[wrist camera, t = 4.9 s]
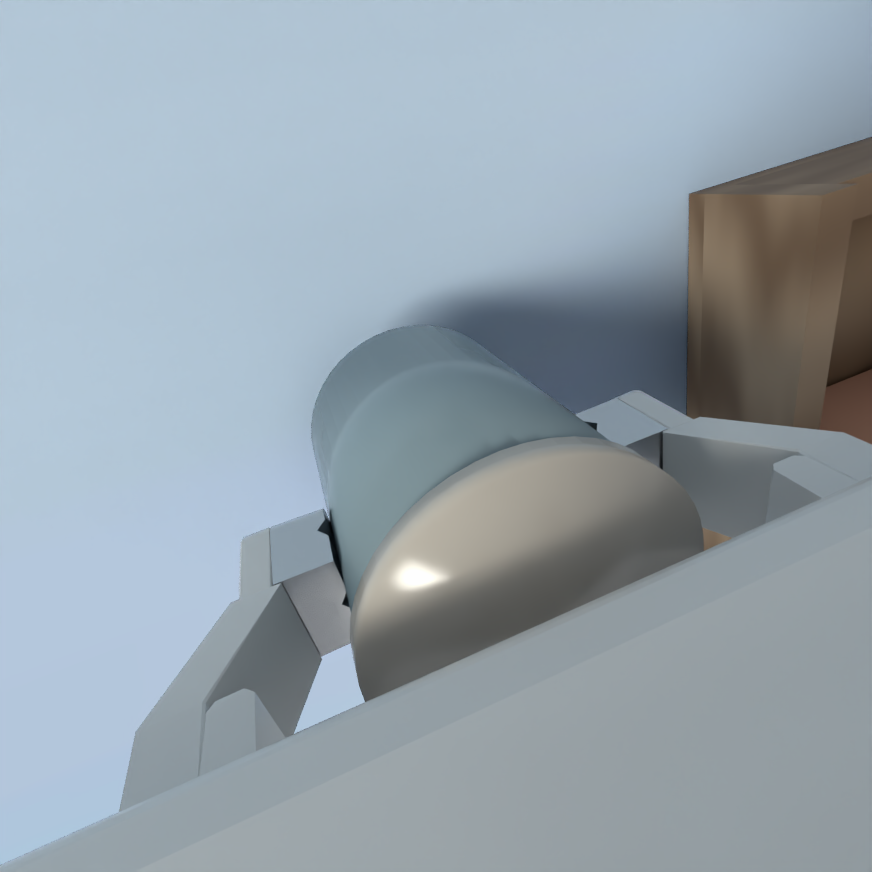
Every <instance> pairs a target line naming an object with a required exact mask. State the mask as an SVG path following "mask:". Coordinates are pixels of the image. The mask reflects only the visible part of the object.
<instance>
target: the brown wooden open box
mask: <svg viewBox="0 0 872 872" xmlns="http://www.w3.org/2000/svg"><path fill="white" fill-rule="evenodd" d="M870 369H872V137H870V138H867V139H864V140H861V141H857V142H854V143H851V144H848V145H844V146H841V147H838V148H835V149H832V150H828V151H825V152H822V153H819V154H816V155H812V156H809V157H806V158H803V159H800V160H796V161H793V162H790V163H787V164H784V165H780V166H777V167H774V168H771V169H768V170H764V171H761V172H758V173H755V174H751V175H748V176H745V177H742V178H739V179H735V180H732V181H729V182H726V183H723V184H719V185H716V186H713V187H710V188H707V189H703V190H700V191H697V192H694V193H691V194H689V263H688V349H687V416H688V417H690V418H692V419H696V418H699V417H707V418H716V419H725V420H734V421H743V422H752V423H762V424H771V425H780V426H789V427H798V428H807V429H817V430H819V428H820V422H821V416H822V409H823V403H824V397H825V390H826V387H828V386H831V385H833V384H836V383H838V382H841V381H843V380H846V379H848V378H851V377H853V376H856V375H858V374H861V373H863V372H866V371H868V370H870ZM702 530H703V540H704V551H705V550H707V549H709V548H712V547H714V546H716V545H718V544H721V543H723V542H725V541H727V540H730V539H732V538H731V537H728V536H725V535H722V534H719V533H717V532H714V531H711V530H708V529H705V528H702Z"/></svg>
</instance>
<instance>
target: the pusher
mask: <svg viewBox="0 0 872 872" xmlns="http://www.w3.org/2000/svg"><path fill="white" fill-rule="evenodd" d="M819 430H826V431H835V432H844V433H846V434H849V435H851V436H853V437H855V438H858V439H860V440H862V441H865V442H867V443H869V444H871V445H872V369H870V370H868V371H866V372H863V373H861V374H858V375H856V376H853V377H851V378H848V379H846V380H843V381H841V382H838V383H836V384H833V385H831V386H828V387H826V390H825V397H824V403H823V409H822V416H821V422H820V428H819Z"/></svg>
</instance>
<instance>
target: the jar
mask: <svg viewBox="0 0 872 872" xmlns="http://www.w3.org/2000/svg"><path fill="white" fill-rule="evenodd" d="M311 438H312V444H313V450H314V455H315V459H316V463H317V468H318V472H319V476H320V481H321V485H322V489H323V494H324V498H325V503H326V507H327V511H328V516H329V520H330V524H331V528H332V532H333V536H334V541H335V546H336V550H337V555H338V558H339V563H340V567H341V571H342V576H343V580H344V585H345V590H346V594H347V598H348V603H349V607H350V611H351V617H350V641H351V648H352V654H353V659H354V664H355V668H356V673H357V678H358V682H359V687H360V689H361V692H362V695H363V697H364V700H365V702H367V701H369V700H371V699H374V698H376V697H378V696H380V695H383V694H385V693H387V692H389V691H391V690H394V689H396V688H398V687H400V686H403V685H405V684H407V683H409V682H412V681H414V680H416V679H418V678H421V677H423V676H425V675H427V674H430V673H432V672H434V671H436V670H439V669H441V668H443V667H445V666H447V665H450V664H452V663H454V662H456V661H459V660H461V659H463V658H465V657H468V656H470V655H472V654H474V653H477V652H479V651H481V650H483V649H485V648H488V647H490V646H492V645H494V644H497V643H499V642H501V641H503V640H506V639H508V638H510V637H512V636H515V635H517V634H519V633H521V632H523V631H526V630H528V629H530V628H532V627H535V626H537V625H539V624H541V623H544V622H546V621H548V620H550V619H553V618H555V617H557V616H559V615H561V614H564V613H566V612H568V611H570V610H573V609H575V608H577V607H579V606H582V605H584V604H586V603H588V602H590V601H593V600H595V599H597V598H599V597H602V596H604V595H606V594H608V593H611V592H613V591H615V590H617V589H620V588H622V587H624V586H626V585H628V584H631V583H633V582H635V581H637V580H640V579H642V578H644V577H646V576H649V575H651V574H653V573H655V572H658V571H660V570H662V569H664V568H667V567H669V566H671V565H673V564H676V563H678V562H680V561H682V560H685V559H687V558H689V557H691V556H694V555H696V554H698V553H700V552H703V551H704V540H703V530H702V525H701V519H700V516H699V514H698V511H697V509H696V506H695V504H694V502H693V501H692V499H691V497H690V496H689V494H688V493H687V491H686V490H685V489H684V488H683V487H682V486H681V485H680V484H679V483H678V482H677V481H676V480H675V479H674V478H673V477H672V476H670V475H669V474H667V473H666V472H665V471H663V470H662V469H660V468H659V467H658V466H656V465H655V464H653V463H652V462H651V461H649V460H648V459H646V458H645V457H643V456H642V455H640V454H639V453H637V452H636V451H634V450H632V449H630V448H628V447H625V446H623V445H621V444H618V443H615V442H611V441H610V440H608V439H607V438H606V437H604V436H603V435H602V434H600V433H599V432H598V431H596V430H595V429H594V428H592V427H591V426H589V425H588V424H587V423H585V422H584V421H583V420H581V419H580V418H579V417H577V416H576V415H575V414H573V413H572V412H571V411H569V410H568V409H566V408H565V407H564V406H562V405H561V404H560V403H558V402H557V401H556V400H554V399H553V398H552V397H550V396H549V395H548V394H546V393H545V392H544V391H542V390H541V389H539V388H538V387H537V386H535V385H534V384H533V383H531V382H530V381H529V380H527V379H526V378H525V377H523V376H522V375H521V374H519V373H518V372H516V371H515V370H514V369H512V368H511V367H510V366H508V365H507V364H506V363H504V362H503V361H502V360H500V359H499V358H498V357H496V356H495V355H494V354H492V353H491V352H489V351H488V350H487V349H485V348H484V347H483V346H481V345H480V344H479V343H477V342H476V341H474V340H473V339H471V338H470V337H468V336H466V335H464V334H462V333H460V332H457V331H454V330H451V329H448V328H445V327H439V326H432V325H414V326H405V327H400V328H396V329H392V330H388V331H386V332H383V333H381V334H378V335H376V336H374V337H372V338H370V339H368V340H367V341H365V342H363V343H361V344H360V345H359V346H357V347H356V348H355V349H353V350H352V351H350V352H349V353H348V354H347V355H346V356H345V357H344V358H343V359H342V360H341V361H340V362H339V363H338V364H337V365H336V367H335V368H334V369H333V370H332V372H331V373H330V374H329V376H328V378H327V379H326V381H325V382H324V384H323V386H322V388H321V390H320V392H319V395H318V397H317V400H316V403H315V407H314V410H313V416H312V423H311Z"/></svg>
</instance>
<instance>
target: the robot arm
mask: <svg viewBox="0 0 872 872" xmlns="http://www.w3.org/2000/svg"><path fill="white" fill-rule="evenodd" d="M575 415H576V416H577V417H579V418H580V419H581V420H583V421H584V422H585V423H587V424H588V425H589V426H591V427H592V428H594V429H595V430H596V431H598V432H599V433H600V434H602V435H603V436H604V437H606V438H607V439H608V440H610V441H611V442H615V443H618V444H621V445H623V446H625V447H628V448H630V449H632V450H634V451H636V452H637V453H639V454H640V455H642V456H643V457H645V458H646V459H648V460H649V461H651V462H652V463H653V464H655V465H656V466H658V467H659V468H660V469H662V470H663V471H665V472H666V473H667V474H669V475H670V476H672V477H673V478H674V479H675V480H676V481H677V482H678V483H679V484H680V485H681V486H682V487H683V488H684V489H685V490H686V491H687V493H688V494H689V496H690V497H691V499H692V501H693V502H694V504H695V506H696V509H697V511H698V514H699V516H700V519H701V525H702V528H705V529H708V530H711V531H714V532H717V533H719V534H722V535H725V536H728V537H731V538H732V539H730V540H727V541H725V542H723V543H721V544H718V545H716V546H714V547H712V548H709V549H707V550H705V551H703V552H700V553H698V554H696V555H694V556H691V557H689V558H687V559H685V560H682V561H680V562H678V563H676V564H673V565H671V566H669V567H667V568H664V569H662V570H660V571H658V572H655V573H653V574H651V575H649V576H646V577H644V578H642V579H640V580H637V581H635V582H633V583H631V584H628V585H626V586H624V587H622V588H620V589H617V590H615V591H613V592H611V593H608V594H606V595H604V596H602V597H599V598H597V599H595V600H593V601H590V602H588V603H586V604H584V605H582V606H579V607H577V608H575V609H573V610H570V611H568V612H566V613H564V614H561V615H559V616H557V617H555V618H553V619H550V620H548V621H546V622H544V623H541V624H539V625H537V626H535V627H532V628H530V629H528V630H526V631H523V632H521V633H519V634H517V635H515V636H512V637H510V638H508V639H506V640H503V641H501V642H499V643H497V644H494V645H492V646H490V647H488V648H485V649H483V650H481V651H479V652H477V653H474V654H472V655H470V656H468V657H465V658H463V659H461V660H459V661H456V662H454V663H452V664H450V665H447V666H445V667H443V668H441V669H439V670H436V671H434V672H432V673H430V674H427V675H425V676H423V677H421V678H418V679H416V680H414V681H412V682H409V683H407V684H405V685H403V686H400V687H398V688H396V689H394V690H391V691H389V692H387V693H385V694H383V695H380V696H378V697H376V698H374V699H371V700H369V701H367V702H365V703H362V704H360V705H358V706H356V707H353V708H351V709H349V710H347V711H344V712H342V713H340V714H338V715H335V716H333V717H331V718H329V719H327V720H324V721H322V722H320V723H318V724H315V725H313V726H311V727H309V728H306V729H304V730H302V731H300V732H297V733H295V734H294V731H295V729H296V726H297V723H298V721H299V718H300V715H301V713H302V710H303V707H304V705H305V702H306V700H307V697H308V694H309V692H310V689H311V686H312V684H313V681H314V678H315V676H316V673H317V670H318V668H319V665H320V663H321V660H322V659H321V656H323V655H325V654H328V653H330V652H332V651H334V650H336V649H339V648H341V647H343V646H345V645H347V644H350V643H351V641H350V617H351V611H350V607H349V603H348V598H347V594H346V590H345V585H344V580H343V576H342V571H341V567H340V563H339V558H338V555H337V550H336V546H335V541H334V536H333V532H332V528H331V524H330V520H329V518H328V516H327V514H326V512H325V510H324V509H320V510H317V511H315V512H312V513H309V514H306V515H303V516H301V517H298V518H295V519H292V520H289V521H287V522H284V523H281V524H278V525H275V526H272V527H271V528H266V529H264V530H261V531H259V532H256V533H253V534H251V535H248V536H246V537H244V538H243V539H242V541H241V549H240V583H239V600H236V601H234V602H231V603H230V604H229V606H228V607H227V609H226V610H225V611H224V613H223V614H222V615H221V617H220V618H219V619H218V621H217V622H216V623H215V625H214V626H213V628H212V629H211V630H210V632H209V633H208V634H207V636H206V637H205V638H204V640H203V641H202V642H201V644H200V645H199V647H198V648H197V649H196V651H195V652H194V653H193V655H192V656H191V657H190V659H189V660H188V662H187V663H186V664H185V666H184V667H183V668H182V670H181V671H180V672H179V674H178V675H177V676H176V678H175V679H174V681H173V682H172V683H171V685H170V686H169V687H168V689H167V690H166V691H165V693H164V694H163V695H162V697H161V698H160V700H159V701H158V702H157V704H156V705H155V706H154V708H153V709H152V710H151V712H150V713H149V715H148V716H147V717H146V719H145V720H144V721H143V723H142V724H141V725H140V727H139V728H138V729H137V731H136V733H135V738H134V742H133V747H132V752H131V757H130V761H129V766H128V771H127V776H126V780H125V785H124V790H123V795H122V800H121V804H120V809H119V812H118V813H116V814H114V815H111V816H109V817H107V818H105V819H102V820H100V821H98V822H96V823H93V824H91V825H89V826H87V827H85V828H82V829H80V830H78V831H76V832H73V833H71V834H69V835H67V836H64V837H62V838H60V839H58V840H55V841H53V842H51V843H49V844H46V845H44V846H42V847H40V848H37V849H35V850H33V851H31V852H28V853H26V854H24V855H22V856H19V857H17V858H15V859H13V860H10V861H8V862H6V863H4V864H1V865H0V872H872V445H871V444H869V443H867V442H865V441H862V440H860V439H858V438H855V437H853V436H851V435H849V434H846V433H844V432H835V431H826V430H817V429H807V428H798V427H789V426H780V425H771V424H762V423H752V422H743V421H734V420H725V419H716V418H707V417H699V418H696V419H692V418H690V417H688V416H686V415H684V414H683V413H681V412H679V411H677V410H675V409H673V408H672V407H670V406H668V405H666V404H664V403H662V402H661V401H659V400H657V399H655V398H653V397H651V396H650V395H648V394H646V393H644V392H642V391H641V390H632V391H630V392H627V393H625V394H623V395H620V396H618V397H616V398H613V399H612V400H609V401H607V402H604V403H602V404H599V405H597V406H594V407H592V408H589V409H587V410H584V411H582V412H579V413H577V414H575Z"/></svg>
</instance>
